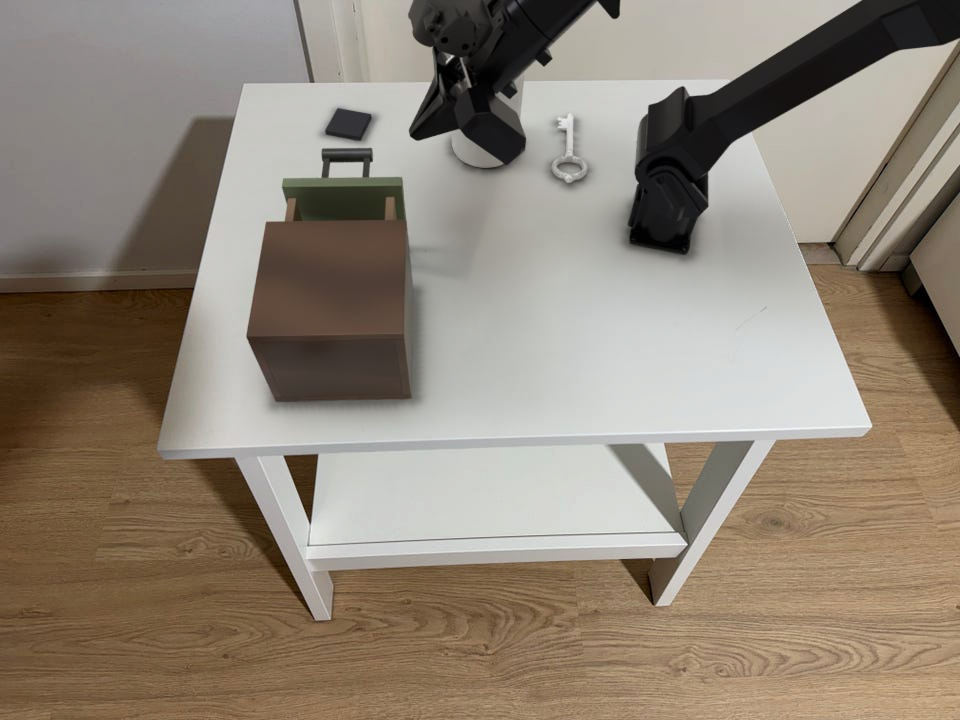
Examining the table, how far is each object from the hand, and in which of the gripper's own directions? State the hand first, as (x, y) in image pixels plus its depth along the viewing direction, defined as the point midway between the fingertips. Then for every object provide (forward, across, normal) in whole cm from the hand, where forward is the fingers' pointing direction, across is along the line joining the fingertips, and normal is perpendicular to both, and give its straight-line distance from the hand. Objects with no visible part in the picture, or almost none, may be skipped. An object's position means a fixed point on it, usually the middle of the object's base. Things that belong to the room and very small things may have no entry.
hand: (412, 136), depth 67 cm
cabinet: (+15, +14, +2) cm, 21 cm away
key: (-5, -9, +23) cm, 25 cm away
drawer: (+13, +5, +3) cm, 14 cm away
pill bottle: (+2, -11, +16) cm, 20 cm away
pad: (+13, -18, +4) cm, 23 cm away
